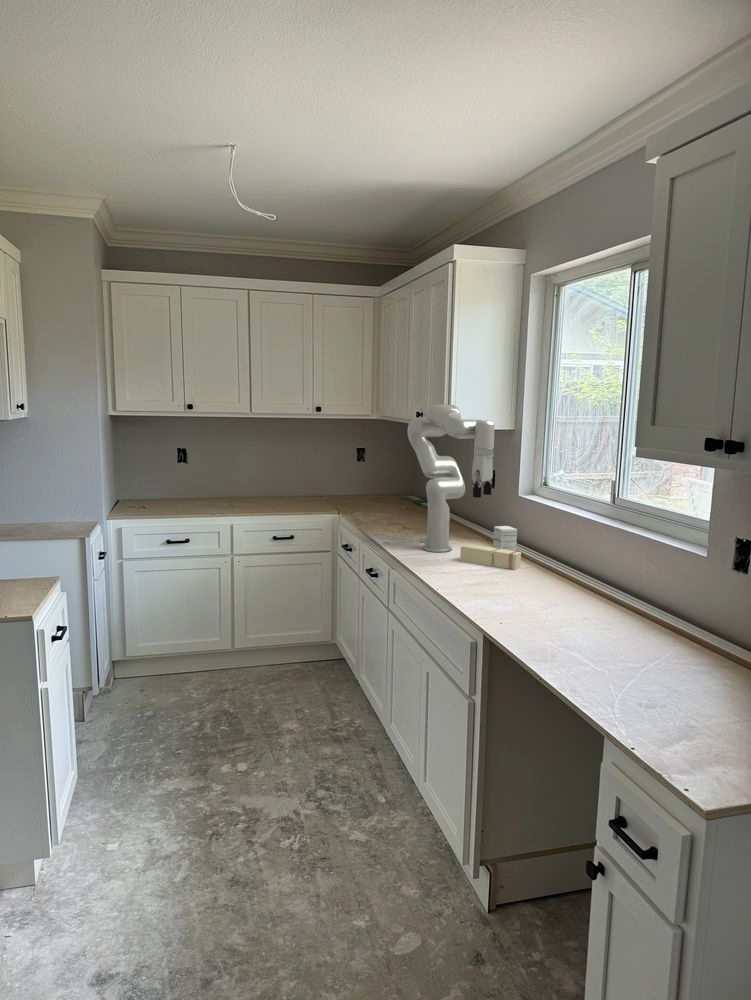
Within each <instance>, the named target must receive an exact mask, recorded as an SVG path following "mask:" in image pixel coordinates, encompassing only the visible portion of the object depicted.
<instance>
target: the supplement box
mask: <svg viewBox="0 0 751 1000" xmlns="http://www.w3.org/2000/svg"><path fill="white" fill-rule="evenodd" d="M517 540H518V528H515V527H512V526H509V525H501V526H500V525H499V526H498V525H497V526H495V525H494V527H493V541H492V542H493V543H492V548H497V549H504V550H511V551H517V544H518V543H517V542H518V541H517Z"/></svg>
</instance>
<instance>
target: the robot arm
mask: <svg viewBox="0 0 751 1000" xmlns="http://www.w3.org/2000/svg"><path fill="white" fill-rule="evenodd" d="M445 435H448V436H450V437H453V438H455V439H460V440H461V439H462V440H463V439H468V440H469V439H474V440H473V441H474V447H473V461H472V468H471V480H472V481H471V482H472V489H473V490H472V497H473V498H479V499H480V498H482V495H486V496H492V485H493V479H494V477H493V475H494V472H493V471H494V470H493V465H494V464H493V457H494V451H495V449H494V447H495V422H494V421H493V420H482V419H470V418H469V419H462V416H461V411H460V409H459V408H458V407H457V406H456V405H454V404H440V403H439V404H433V405H431V406H430V407H429V408H428V409H427V412H426V417H419V418H418V417H417V418H414V419H412V420H411V421H409V423H408V426H407V438H408V441H409V443H410V445H411V447H412V448H413V450H414V452H415V454H416V457H417V460H418V463H419V465H420V468H421V470H422V473H423V474H424V476H425V477H426V478H429V480H428V481H427V482H426V485H425V491H426V498H427V523H426V538H425V537H420V538H419V541H418V542H419V543H421V544H424V545H423V546H422V549H423V550H424V551H426V552H431V553H448V552H452V550H453V546H451V545H449V543H450V541H449V540H450V513H451V511H450V506H449V505H448V503H447V500H454V499H460V498H462V497H463V496H464V495H465V493H466V484H465V481H464V478H463V476H462V472H461V471H460V468H459V465H458V463H457V461H456V460H455V458H453V457H452V456H448V455H438V453H437V451H436V447H435V446H434V445H433V444H432V442H431V441H429V440H428V439H427V438H438V437H439V438H440V437H443V436H445ZM482 483H484V484H483V494H482V487H481V485H482Z"/></svg>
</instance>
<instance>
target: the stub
mask: <svg viewBox="0 0 751 1000" xmlns="http://www.w3.org/2000/svg"><path fill="white" fill-rule="evenodd" d="M521 558H522V552H521V551H517V550H516V551H511V550H504V549H498V550H496V551H494V564H493V566H492V567H494V568H501V569H508V570H512V571H513V570H515V571H516V570H518V569H519V568H521V563H522V562H521V561H522V559H521Z"/></svg>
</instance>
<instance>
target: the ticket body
mask: <svg viewBox="0 0 751 1000" xmlns="http://www.w3.org/2000/svg"><path fill="white" fill-rule="evenodd" d="M496 550H498V549H497V548H493V547H489V546H482V545H477V544H470V543H469V544H468V543H466V544H464V545H461V546H460V550H459V551H460V556H459V561H460V562H464V563H470V564H477V565H484V566H489V567H494V566H493V564H494V551H496Z"/></svg>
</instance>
